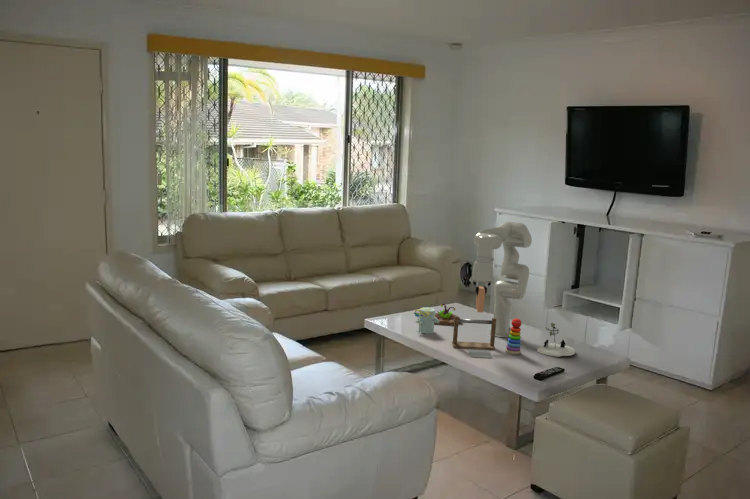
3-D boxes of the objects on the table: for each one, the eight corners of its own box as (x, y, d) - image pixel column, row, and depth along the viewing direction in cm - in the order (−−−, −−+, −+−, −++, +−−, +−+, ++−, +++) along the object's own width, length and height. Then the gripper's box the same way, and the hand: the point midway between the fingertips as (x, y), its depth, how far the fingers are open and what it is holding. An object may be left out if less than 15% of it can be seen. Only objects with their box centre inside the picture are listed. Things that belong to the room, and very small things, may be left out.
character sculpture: (405, 329, 368) (406, 306, 365) (418, 326, 375) (420, 304, 373) (430, 338, 353) (432, 314, 351) (444, 334, 361) (445, 311, 359)
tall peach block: (481, 308, 336) (483, 286, 334) (483, 312, 328) (485, 289, 326) (475, 308, 336) (477, 286, 334) (477, 312, 328) (479, 289, 326)
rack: (492, 345, 346) (494, 316, 343) (494, 350, 338) (497, 320, 335) (452, 343, 346) (454, 314, 344) (453, 347, 338) (455, 318, 336)
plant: (425, 316, 398) (426, 299, 396) (456, 317, 400) (457, 299, 398) (432, 326, 378) (433, 307, 376) (464, 326, 380) (465, 308, 378)
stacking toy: (511, 356, 330) (515, 321, 327) (502, 351, 337) (505, 317, 334) (523, 354, 333) (527, 319, 330) (513, 349, 340) (516, 315, 337)
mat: (489, 351, 336) (489, 350, 336) (492, 358, 325) (492, 357, 325) (468, 350, 336) (468, 349, 336) (470, 357, 325) (470, 356, 325)
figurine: (578, 349, 343) (578, 320, 341) (570, 359, 327) (570, 328, 325) (541, 345, 353) (541, 317, 351) (532, 355, 337) (532, 325, 335)
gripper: (498, 259, 331) (495, 293, 334) (467, 257, 332) (464, 291, 335) (500, 261, 324) (497, 297, 327) (468, 259, 324) (465, 295, 327)
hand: (480, 294), depth 331 cm, fingers closed on tall peach block, 3 cm apart
